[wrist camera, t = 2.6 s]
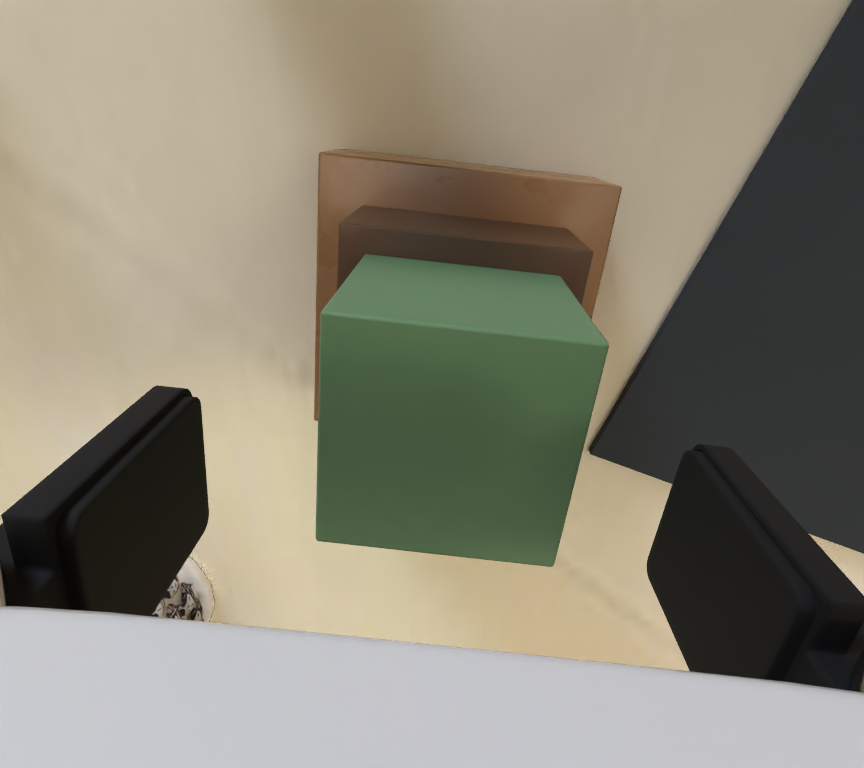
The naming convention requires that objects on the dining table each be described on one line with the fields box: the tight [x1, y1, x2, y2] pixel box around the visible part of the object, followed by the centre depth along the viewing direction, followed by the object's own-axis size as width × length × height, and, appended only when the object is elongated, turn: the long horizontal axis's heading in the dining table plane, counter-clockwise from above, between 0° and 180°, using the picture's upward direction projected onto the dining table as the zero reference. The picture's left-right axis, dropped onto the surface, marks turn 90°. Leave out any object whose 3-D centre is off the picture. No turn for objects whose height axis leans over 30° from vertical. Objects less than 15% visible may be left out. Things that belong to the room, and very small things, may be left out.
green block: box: [316, 254, 609, 567], centre depth 14 cm, size 6×6×6 cm
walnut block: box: [337, 205, 593, 306], centre depth 18 cm, size 7×7×4 cm
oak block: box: [314, 149, 622, 421], centre depth 22 cm, size 10×10×4 cm
